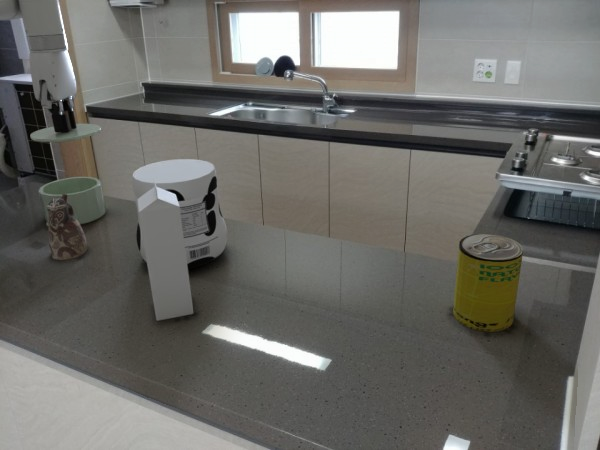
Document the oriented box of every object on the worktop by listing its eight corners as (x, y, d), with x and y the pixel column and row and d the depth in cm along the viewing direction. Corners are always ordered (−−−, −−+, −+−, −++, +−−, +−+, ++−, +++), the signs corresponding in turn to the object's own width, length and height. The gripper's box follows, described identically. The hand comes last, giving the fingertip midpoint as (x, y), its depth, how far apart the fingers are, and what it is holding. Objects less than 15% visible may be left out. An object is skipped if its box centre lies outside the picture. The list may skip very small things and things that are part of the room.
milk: (189, 296, 93) (174, 174, 84) (193, 314, 87) (178, 186, 79) (153, 303, 91) (134, 179, 82) (155, 321, 86) (135, 191, 77)
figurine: (43, 257, 109) (29, 202, 104) (68, 243, 115) (56, 190, 110) (71, 261, 107) (58, 205, 102) (95, 246, 113) (84, 193, 108)
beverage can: (525, 318, 83) (536, 248, 78) (487, 338, 79) (496, 265, 74) (478, 294, 90) (485, 229, 85) (440, 312, 86) (446, 243, 81)
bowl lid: (17, 145, 115) (10, 118, 113) (53, 129, 128) (48, 105, 126) (82, 144, 113) (77, 117, 111) (112, 128, 127) (108, 103, 124)
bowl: (34, 225, 125) (26, 195, 122) (64, 204, 137) (58, 176, 134) (89, 226, 123) (83, 195, 120) (115, 205, 136) (109, 176, 133)
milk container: (170, 234, 117) (159, 155, 110) (243, 243, 112) (236, 160, 105) (122, 271, 102) (105, 181, 95) (202, 283, 97) (191, 189, 90)
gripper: (51, 41, 121) (68, 122, 128) (8, 48, 106) (30, 139, 113) (82, 40, 120) (98, 122, 127) (44, 47, 105) (63, 139, 112)
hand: (65, 129), depth 120 cm, fingers closed on bowl lid, 2 cm apart
